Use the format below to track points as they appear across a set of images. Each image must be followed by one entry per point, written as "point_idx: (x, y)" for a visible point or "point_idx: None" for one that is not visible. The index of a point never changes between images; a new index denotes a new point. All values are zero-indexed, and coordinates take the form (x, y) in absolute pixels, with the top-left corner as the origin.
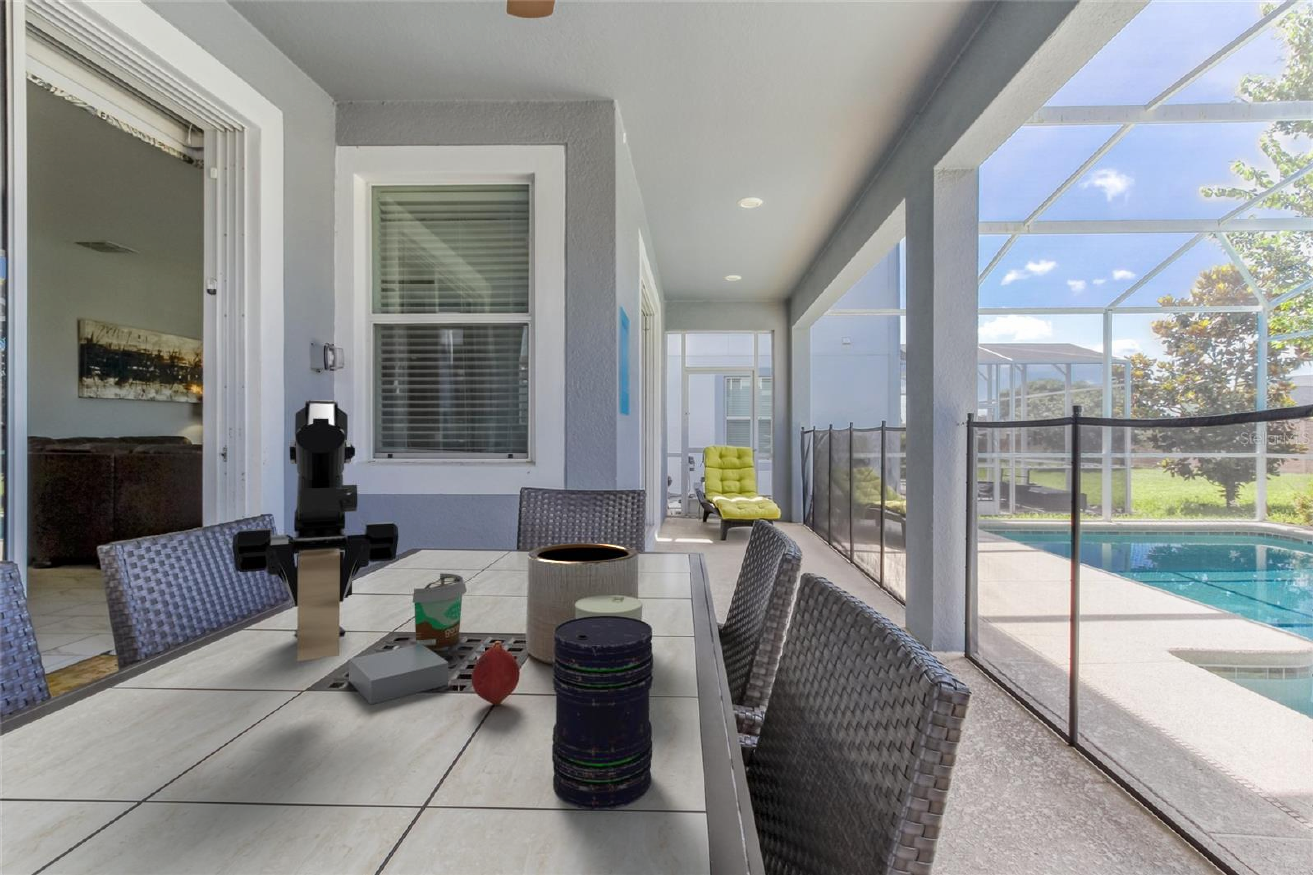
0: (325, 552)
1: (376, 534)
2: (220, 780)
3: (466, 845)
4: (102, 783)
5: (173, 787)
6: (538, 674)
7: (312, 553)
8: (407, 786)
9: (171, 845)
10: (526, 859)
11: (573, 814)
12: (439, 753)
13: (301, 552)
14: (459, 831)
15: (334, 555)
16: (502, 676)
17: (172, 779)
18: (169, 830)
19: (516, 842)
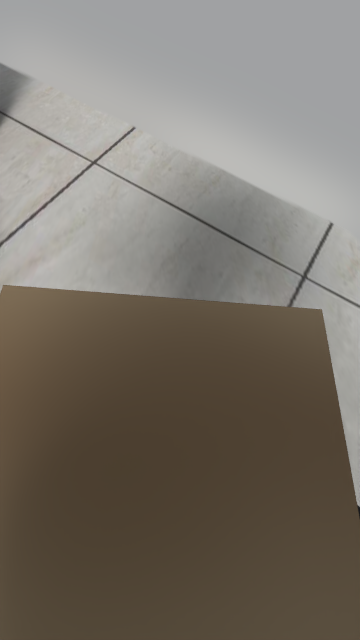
0: (97, 467)
1: None
2: (248, 280)
3: (83, 117)
4: (354, 330)
5: (286, 288)
6: None
7: (225, 456)
8: (97, 191)
9: (262, 205)
10: (57, 93)
11: (4, 108)
12: (50, 226)
13: (349, 609)
14: (82, 129)
15: (49, 293)
16: None
17: (292, 305)
18: (268, 223)
19: (54, 106)
